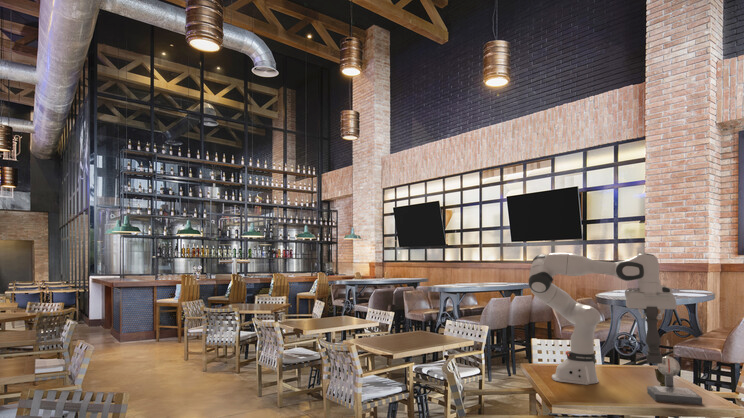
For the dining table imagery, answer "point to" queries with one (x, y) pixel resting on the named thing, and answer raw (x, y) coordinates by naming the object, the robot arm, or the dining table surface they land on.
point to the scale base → (671, 383)
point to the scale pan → (674, 391)
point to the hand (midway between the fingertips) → (651, 318)
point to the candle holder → (652, 336)
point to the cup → (660, 377)
